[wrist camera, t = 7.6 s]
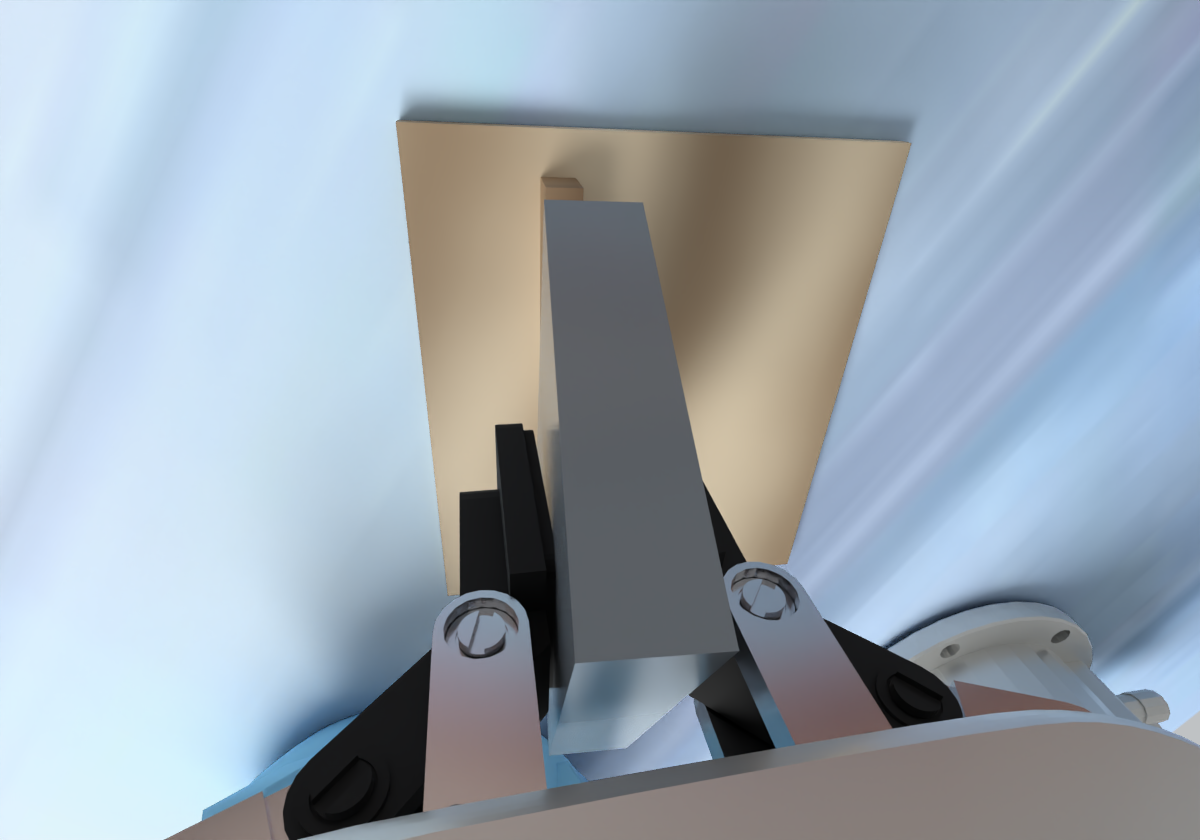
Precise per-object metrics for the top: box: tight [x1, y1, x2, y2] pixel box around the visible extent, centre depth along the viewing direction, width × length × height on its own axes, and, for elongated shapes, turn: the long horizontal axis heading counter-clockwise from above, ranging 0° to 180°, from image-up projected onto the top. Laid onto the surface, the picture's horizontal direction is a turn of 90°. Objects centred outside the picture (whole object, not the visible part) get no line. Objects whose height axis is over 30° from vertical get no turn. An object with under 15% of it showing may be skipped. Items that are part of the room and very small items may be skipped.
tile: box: [537, 200, 739, 756], centre depth 11 cm, size 2×8×7 cm, turn 177°
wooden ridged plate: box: [396, 120, 911, 596], centre depth 17 cm, size 12×14×2 cm
